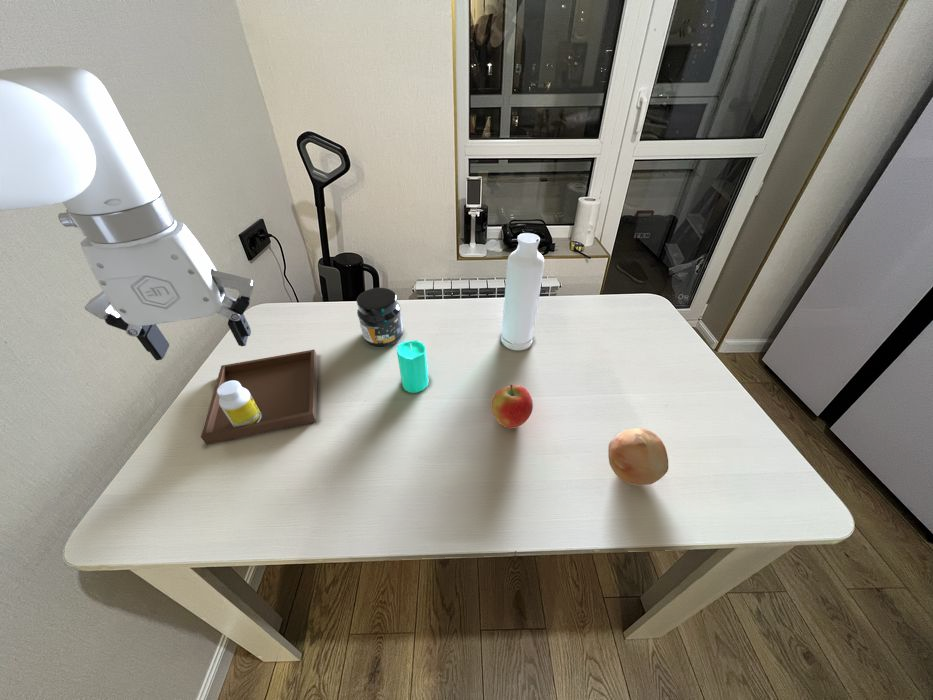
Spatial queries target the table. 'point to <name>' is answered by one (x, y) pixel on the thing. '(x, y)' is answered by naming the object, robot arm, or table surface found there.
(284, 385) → the tray
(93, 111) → the robot arm
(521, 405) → the apple
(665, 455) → the onion
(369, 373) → the table surface
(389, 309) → the supplement container
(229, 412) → the supplement bottle
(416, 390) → the candle
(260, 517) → the table surface
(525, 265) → the bottle
